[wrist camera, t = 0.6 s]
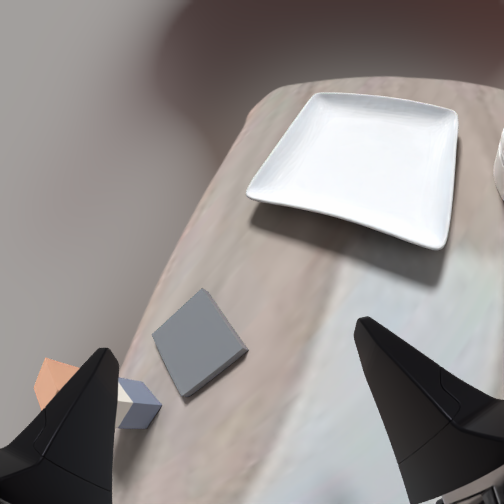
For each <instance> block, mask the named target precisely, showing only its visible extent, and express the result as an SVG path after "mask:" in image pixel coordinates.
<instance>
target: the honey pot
mask: <svg viewBox="0 0 504 504" xmlns="http://www.w3.org/2000/svg"><path fill="white" fill-rule="evenodd" d="M493 175H494V179H495V184H496V187H497V189H498V191H499V194H500V196H501V198H502V200H503V201H504V129H503V132H502V134H501V140H500V144H499V147H498V151H497V155H496V159H495V162H494V171H493Z"/></svg>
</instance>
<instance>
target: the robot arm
mask: <svg viewBox="0 0 504 504" xmlns="http://www.w3.org/2000/svg"><path fill="white" fill-rule="evenodd" d="M354 340H355V344H356V347H357V350H358V354H359V357H360V361H361V364H362V368H363V371H364V375H365V377H366V380H367V382H368V385H369V387H370V390H371V392H372V395H373V397H374V400H375V402H376V405H377V408H378V410H379V413H380V415H381V418H382V421H383V423H384V426H385V429H386V431H387V434H388V437H389V440H390V442H391V445H392V448H393V451H394V454H395V457H396V460H397V463H398V466H399V469H400V472H401V475H402V478H403V481H404V485H405V488H406V491H407V494H408V498H409V501H410V504H419V503H422V502H425V501H428V500H431V499H434V498H436V497H439V496H442V498H441V499H439V500H438V501H437V502H436V504H504V400H500V399H496V398H493V397H491V396H489V395H487V394H485V393H483V392H482V391H480V390H478V389H476V388H474V387H473V386H471V385H469V384H467V383H466V382H464V381H462V380H461V379H459V378H457V377H456V376H454V375H453V374H451V373H450V372H448V371H447V370H445V369H444V368H443V367H441V366H439V365H438V364H437V363H435V362H434V361H433V360H431V359H430V358H428V357H427V356H425V355H424V354H423V353H421V352H420V351H418V350H417V349H415V348H414V347H413V346H411V345H410V344H408V343H407V342H405V341H404V340H402V339H401V338H400V337H398V336H397V335H395V334H394V333H392V332H391V331H390V330H388V329H387V328H385V327H384V326H382V325H381V324H379V323H378V322H376V321H375V320H374V319H372V318H371V317H368V316H366V317H362V318H359V319H358V320H357V323H356V327H355V331H354ZM118 378H119V364H118V361H117V359H116V358H115V356H114V355H113V353H112V352H111V350H110V349H109V348H99V349H97V350H96V352H94V354H93V355H92V356H91V357H90V358H89V359H88V360H87V361H86V362H85V363H84V364H83V365H82V366H81V367H80V368H79V370H78V371H77V372H76V373H75V374H74V375H73V376H72V377H71V378H70V379H69V381H68V382H67V383H66V384H65V385H64V386H63V387H62V388H61V389H60V391H59V392H58V393H57V394H56V395H55V396H54V397H53V398H52V400H51V401H50V402H49V403H48V404H47V405H46V406H45V408H44V409H43V410H42V411H41V412H40V413H39V414H38V416H37V417H36V418H35V419H34V420H33V421H32V422H31V423H30V424H29V425H28V426H27V427H26V428H25V429H24V430H23V431H22V432H21V433H20V434H19V435H18V436H17V437H16V438H15V439H14V440H13V441H12V442H11V443H10V444H9V445H7V446H6V447H4V448H1V449H0V504H112V463H113V445H114V433H115V422H116V413H117V403H118Z"/></svg>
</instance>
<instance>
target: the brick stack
mask: <svg viewBox="0 0 504 504" xmlns="http://www.w3.org/2000/svg"><path fill="white" fill-rule="evenodd" d="M78 370H79V368H78V367H74V366H71V365H67V364H64V363H61V362H58V361H55V360H51V359H48V358H45V360H44V362H43V365H42V367H41V370H40V372H39V375H38V377H37V380H36V383H35V386H34V390H35V393H36V396H37V399H38V402H39V405H40V408H41V411H42V410H43V409H44V408H45V406H46V405H47V404H48V403H49V402H50V401H51V400H52V398H53V397H54V396H55V395H56V394H57V393H58V392H59V391H60V389H61V388H62V387H63V386H64V385H65V384H66V383H67V382H68V381H69V379H70V378H71V377H72V376H73V375H74V374H75V373H76V372H77V371H78ZM161 406H162V404H161V403H160V402H159V401H158V400H157V399H156V397H155V396H154V395H153V394H152V393H151V392H150V390H149V389H148V388H147V387H146V386H145V384H144V383H143V382H140V381H134V380H129V379H124V378H118V403H117V413H116V422H115V428H127V429H146V428H147V427H148V425H149V424H150V422H151V421H152V419H153V418H154V416H155V415H156V414H157V412H158V411H159V409H160V408H161Z"/></svg>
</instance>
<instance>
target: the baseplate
mask: <svg viewBox="0 0 504 504" xmlns="http://www.w3.org/2000/svg"><path fill="white" fill-rule="evenodd" d="M152 337H153V339H154V341H155V344H156V346H157V348H158V350H159V352H160V354H161V357H162V359H163V361H164V363H165V365H166V367H167V369H168V371H169V373H170V375H171V377H172V379H173V381H174V383H175V385H176V387H177V389H178V391H179V393H180V395H181V396H185V397H189V396H191V395H192V394H193V393H195V392H196V391H197V390H199V389H200V388H201V387H203V386H204V385H205V384H207V383H208V382H209V381H210V380H212V379H213V378H214V377H216V376H217V375H218V374H219V373H221V372H222V371H223V370H225V369H226V368H227V367H228V366H230V365H231V364H232V363H233V362H234V361H236V360H237V359H238V358H239V357H241V356H242V355H243V354H244V353H245V352H247V351H248V348H247V347H246V346H245V344H244V343H243V341H242V340H241V339H240V337H239V336H238V334H237V333H236V332H235V330H234V329H233V327H232V326H231V324H230V323H229V322H228V320H227V319H226V317H225V316H224V314H223V313H222V311H221V310H220V308H219V307H218V306H217V304H216V303H215V301H214V300H213V298H212V297H211V295H210V294H209V292H208V291H206V290H205V289H203V288H202V289H201V290H199V291H198V292H197V293H196V294H195V295H194V296H193V297H192V298H191V299H190V300H189V301H188V302H186V303H185V304H184V305H183V306H182V307H181V308H180V309H179V310H178V311H177V312H176V313H175V314H173V315H172V316H171V317H170V318H169V319H168V320H167V321H166V322H165V323H164V324H163V325H162V326H161V327H159V328H158V329H157V330H156V331H155V332H154V333H153V334H152Z"/></svg>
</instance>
